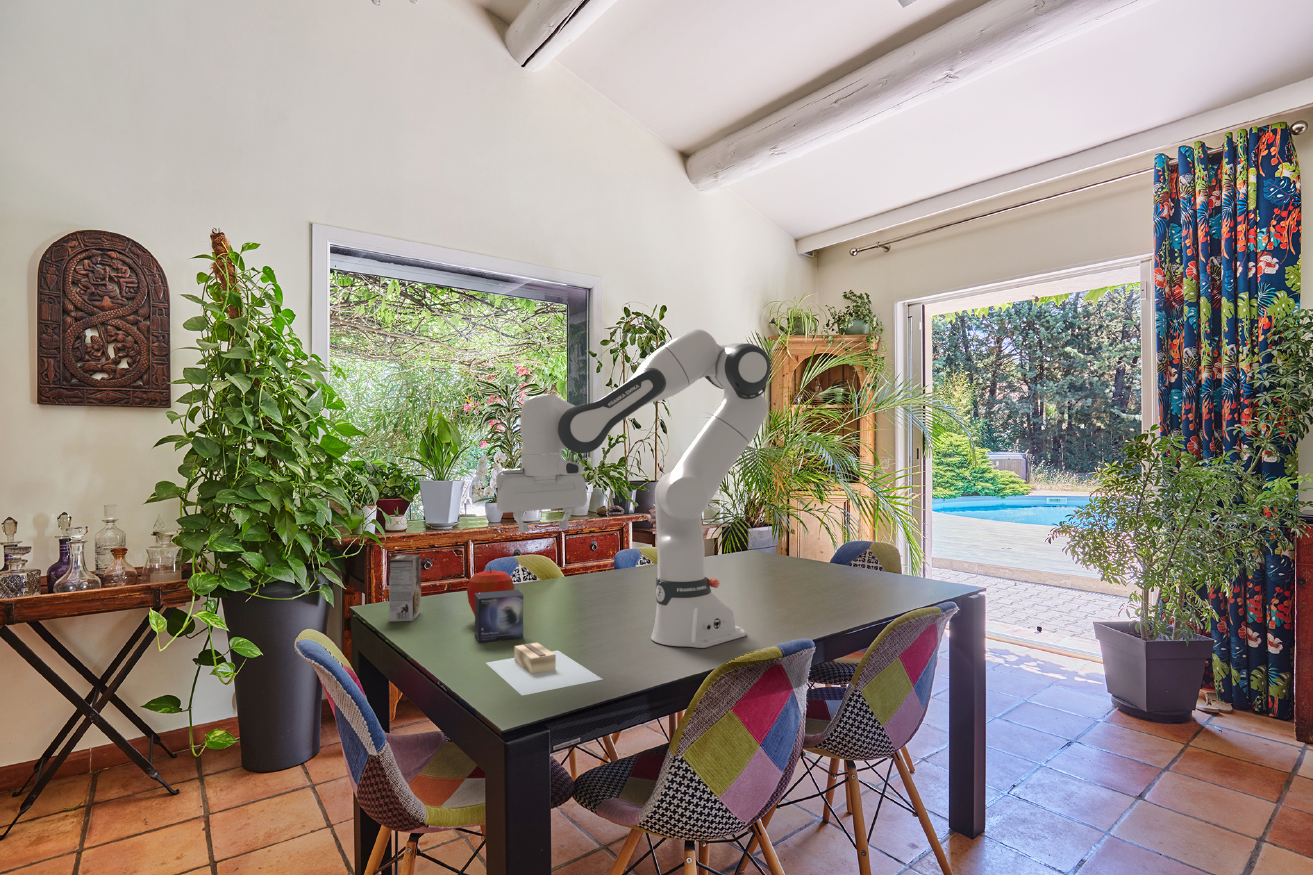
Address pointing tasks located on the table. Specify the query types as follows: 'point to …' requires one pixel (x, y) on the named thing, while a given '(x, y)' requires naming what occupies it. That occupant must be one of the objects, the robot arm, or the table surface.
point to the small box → (498, 615)
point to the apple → (488, 584)
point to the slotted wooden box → (535, 658)
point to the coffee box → (404, 587)
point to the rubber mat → (543, 675)
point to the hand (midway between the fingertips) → (543, 530)
